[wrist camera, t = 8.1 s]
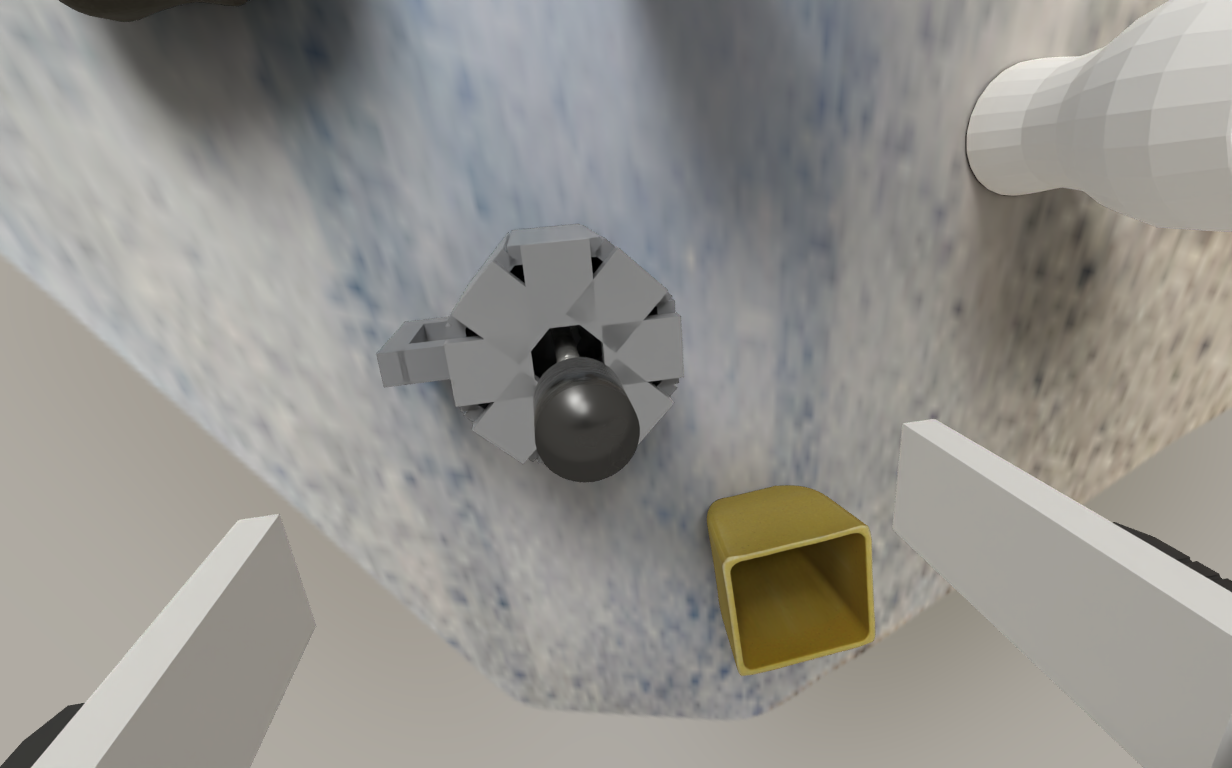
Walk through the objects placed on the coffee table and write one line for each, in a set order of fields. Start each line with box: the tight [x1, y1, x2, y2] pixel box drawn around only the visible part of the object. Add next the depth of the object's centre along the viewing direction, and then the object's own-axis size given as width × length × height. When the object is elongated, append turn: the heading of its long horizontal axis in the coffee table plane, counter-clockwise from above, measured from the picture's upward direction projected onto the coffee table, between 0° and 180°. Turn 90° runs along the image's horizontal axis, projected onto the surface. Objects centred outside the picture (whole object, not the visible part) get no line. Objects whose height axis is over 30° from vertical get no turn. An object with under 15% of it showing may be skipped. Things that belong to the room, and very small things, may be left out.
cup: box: [967, 0, 1232, 232], centre depth 29 cm, size 11×11×15 cm
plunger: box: [519, 273, 640, 482], centre depth 25 cm, size 6×6×17 cm
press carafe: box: [376, 224, 684, 464], centre depth 30 cm, size 10×14×11 cm
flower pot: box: [707, 485, 875, 676], centre depth 38 cm, size 9×9×9 cm
